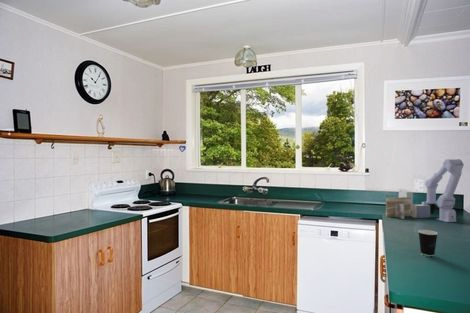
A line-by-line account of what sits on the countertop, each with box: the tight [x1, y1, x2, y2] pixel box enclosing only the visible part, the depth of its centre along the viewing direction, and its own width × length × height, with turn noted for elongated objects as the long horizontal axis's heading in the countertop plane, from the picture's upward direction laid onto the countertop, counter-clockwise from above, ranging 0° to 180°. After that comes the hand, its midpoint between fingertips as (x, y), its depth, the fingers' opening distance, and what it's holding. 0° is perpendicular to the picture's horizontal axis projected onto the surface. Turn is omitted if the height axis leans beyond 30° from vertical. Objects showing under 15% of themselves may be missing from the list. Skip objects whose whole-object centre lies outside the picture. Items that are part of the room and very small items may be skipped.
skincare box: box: [398, 188, 414, 212], centre depth 264 cm, size 21×6×16 cm, turn 168°
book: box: [411, 204, 431, 219], centre depth 230 cm, size 4×12×9 cm, turn 101°
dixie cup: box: [417, 229, 439, 256], centre depth 143 cm, size 8×8×11 cm
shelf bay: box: [385, 197, 412, 220], centre depth 229 cm, size 9×20×14 cm, turn 101°
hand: (431, 214), depth 232 cm, fingers closed
